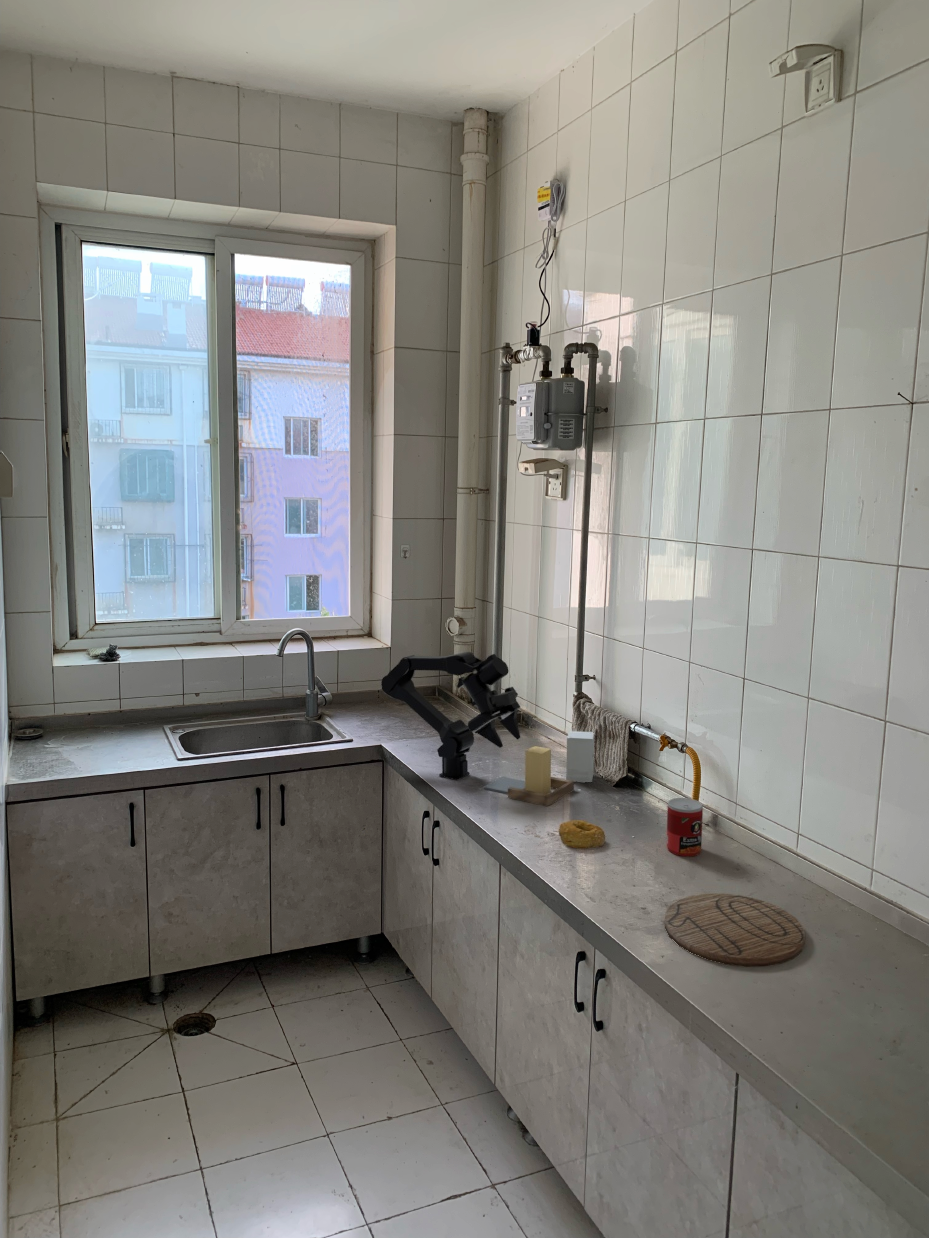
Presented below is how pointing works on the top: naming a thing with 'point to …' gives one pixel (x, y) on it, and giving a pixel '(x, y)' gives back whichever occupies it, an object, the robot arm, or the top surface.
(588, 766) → the supplement box
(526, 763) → the ochre block
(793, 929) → the trivet
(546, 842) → the top surface
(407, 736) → the top surface
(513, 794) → the frame
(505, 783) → the slate mat
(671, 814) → the canned food
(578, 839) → the bagel
